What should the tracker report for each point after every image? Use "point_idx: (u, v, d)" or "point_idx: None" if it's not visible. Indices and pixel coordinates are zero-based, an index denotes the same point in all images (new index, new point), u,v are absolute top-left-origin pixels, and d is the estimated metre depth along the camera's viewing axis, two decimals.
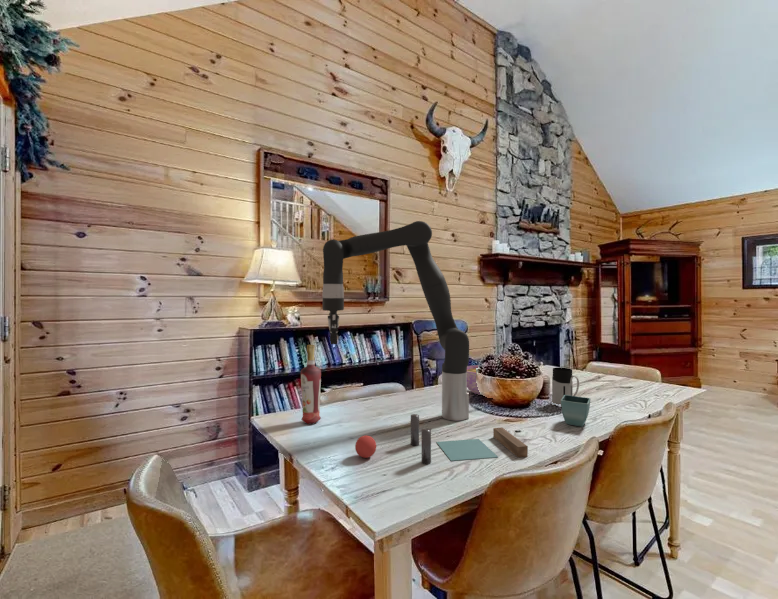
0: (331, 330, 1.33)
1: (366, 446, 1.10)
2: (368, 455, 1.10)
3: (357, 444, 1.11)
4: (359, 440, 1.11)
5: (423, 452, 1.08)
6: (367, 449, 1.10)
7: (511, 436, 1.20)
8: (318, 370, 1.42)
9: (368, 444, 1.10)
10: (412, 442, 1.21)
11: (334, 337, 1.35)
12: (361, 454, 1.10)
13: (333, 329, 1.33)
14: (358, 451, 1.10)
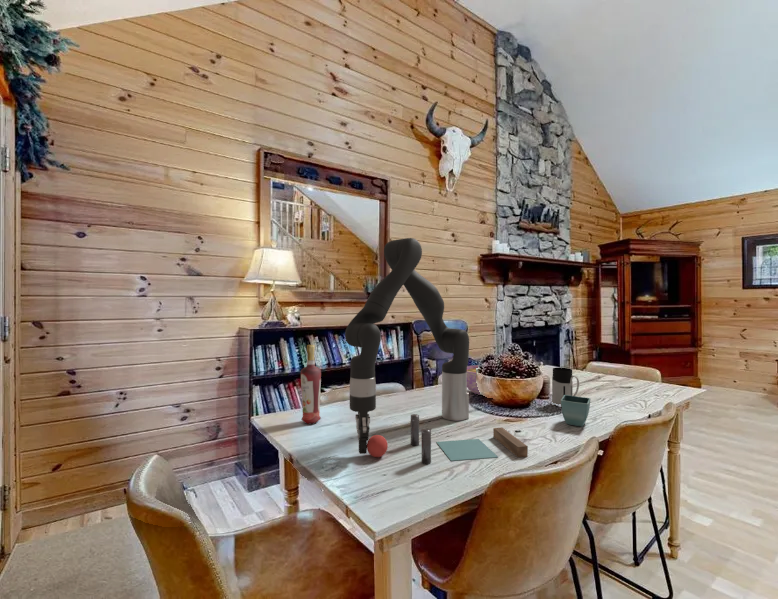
0: (360, 439, 1.10)
1: (381, 447, 1.10)
2: (375, 454, 1.11)
3: (375, 438, 1.12)
4: (379, 437, 1.12)
5: (423, 452, 1.08)
6: (379, 449, 1.10)
7: (511, 436, 1.20)
8: (318, 370, 1.42)
9: (383, 447, 1.11)
10: (412, 442, 1.21)
11: (363, 446, 1.12)
12: (371, 448, 1.10)
13: (363, 439, 1.10)
14: (371, 444, 1.11)
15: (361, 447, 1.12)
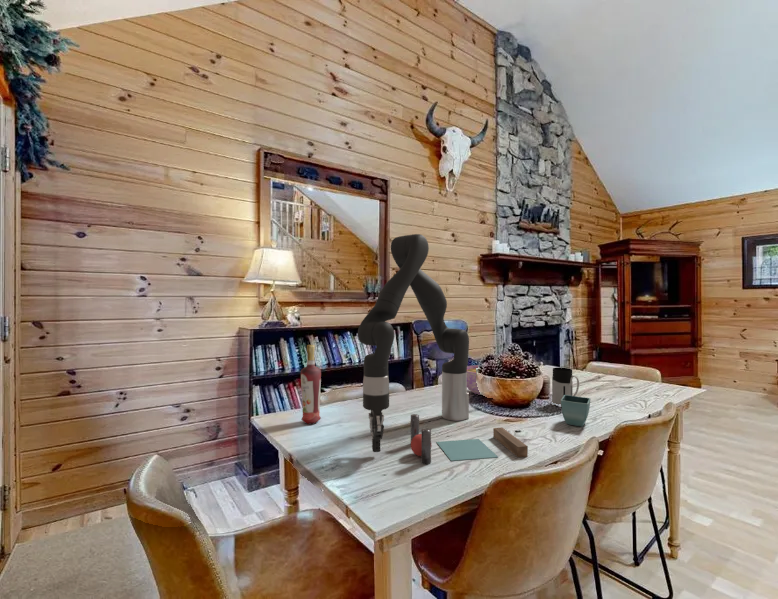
0: (374, 438, 1.10)
1: (418, 447, 1.11)
2: None
3: (415, 453, 1.12)
4: (412, 450, 1.13)
5: (423, 452, 1.08)
6: (420, 447, 1.11)
7: (511, 436, 1.20)
8: (318, 370, 1.42)
9: (417, 444, 1.11)
10: None
11: (377, 444, 1.12)
12: None
13: (377, 438, 1.10)
14: (421, 455, 1.12)
15: (375, 445, 1.12)
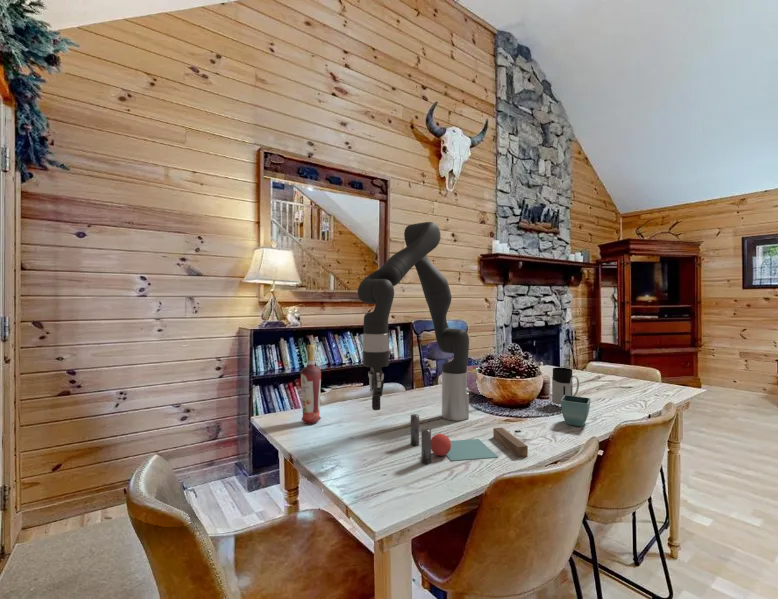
0: (374, 395, 1.10)
1: (445, 445, 1.11)
2: (441, 453, 1.11)
3: (436, 438, 1.13)
4: (439, 435, 1.13)
5: (423, 452, 1.08)
6: (444, 447, 1.11)
7: (511, 436, 1.20)
8: (318, 370, 1.42)
9: (447, 444, 1.12)
10: (412, 442, 1.21)
11: (377, 402, 1.12)
12: (436, 448, 1.11)
13: (376, 395, 1.10)
14: (434, 444, 1.12)
15: (375, 403, 1.11)
